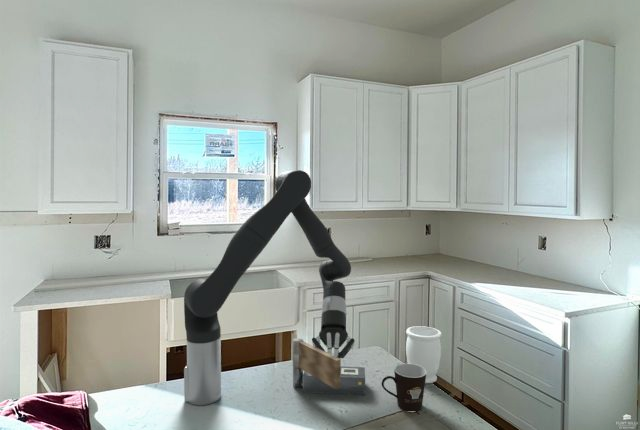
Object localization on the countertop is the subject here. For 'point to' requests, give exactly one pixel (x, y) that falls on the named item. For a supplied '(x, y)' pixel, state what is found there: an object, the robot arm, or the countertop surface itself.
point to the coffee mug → (408, 386)
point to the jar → (424, 349)
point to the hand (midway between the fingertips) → (332, 372)
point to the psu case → (349, 382)
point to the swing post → (297, 377)
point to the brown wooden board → (317, 363)
